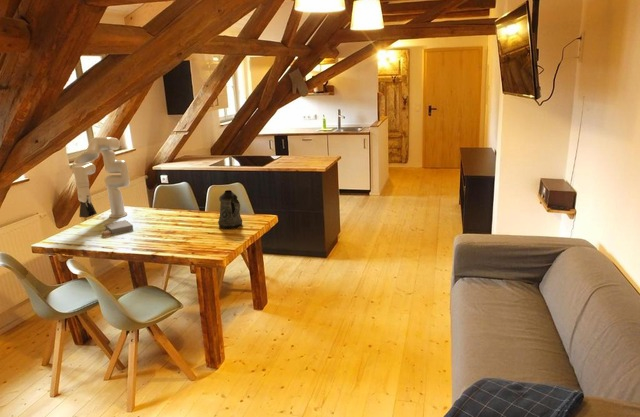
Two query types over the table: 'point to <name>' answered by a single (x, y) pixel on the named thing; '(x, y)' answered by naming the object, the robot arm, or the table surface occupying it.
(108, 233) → the walnut offcut
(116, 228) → the stand
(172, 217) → the table surface
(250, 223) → the table surface
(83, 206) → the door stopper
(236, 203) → the dark grey upright piece
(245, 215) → the table surface
